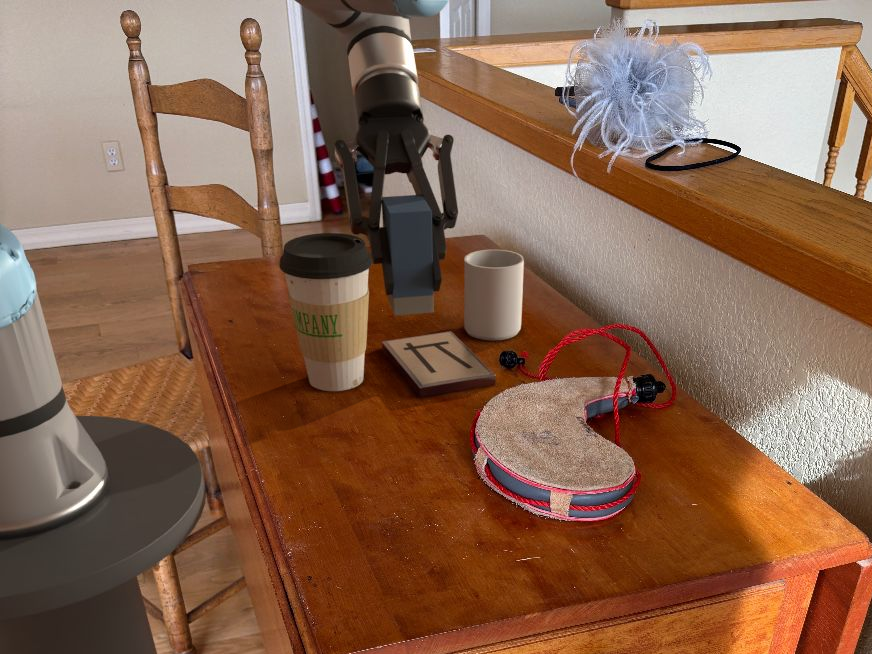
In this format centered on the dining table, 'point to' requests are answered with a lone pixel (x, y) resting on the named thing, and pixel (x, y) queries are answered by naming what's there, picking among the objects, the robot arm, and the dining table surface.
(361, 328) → the coffee cup
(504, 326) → the cup
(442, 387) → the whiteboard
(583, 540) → the dining table surface
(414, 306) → the eraser
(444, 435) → the dining table surface
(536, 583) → the dining table surface
